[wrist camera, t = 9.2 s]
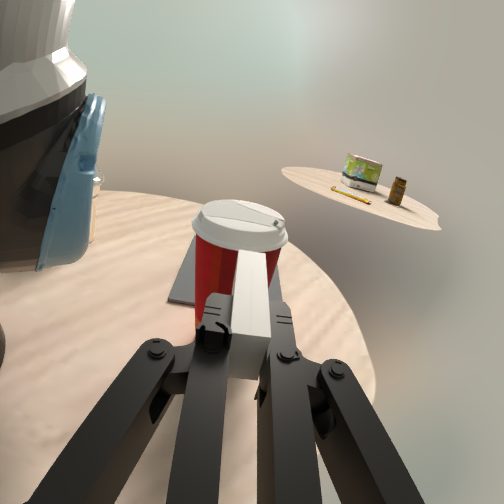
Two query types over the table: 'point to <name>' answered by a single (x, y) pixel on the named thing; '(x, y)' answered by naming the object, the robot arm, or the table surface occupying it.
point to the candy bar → (350, 195)
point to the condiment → (397, 192)
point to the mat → (186, 281)
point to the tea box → (361, 173)
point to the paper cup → (232, 244)
